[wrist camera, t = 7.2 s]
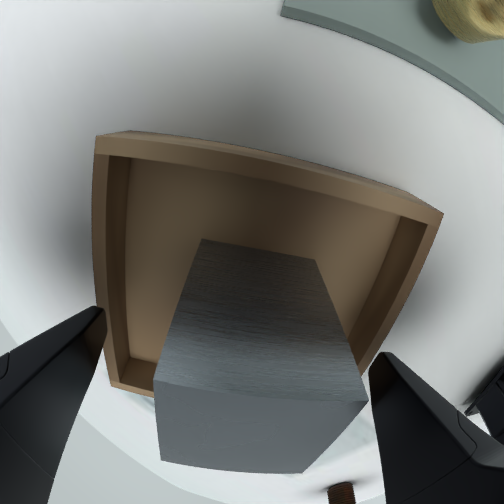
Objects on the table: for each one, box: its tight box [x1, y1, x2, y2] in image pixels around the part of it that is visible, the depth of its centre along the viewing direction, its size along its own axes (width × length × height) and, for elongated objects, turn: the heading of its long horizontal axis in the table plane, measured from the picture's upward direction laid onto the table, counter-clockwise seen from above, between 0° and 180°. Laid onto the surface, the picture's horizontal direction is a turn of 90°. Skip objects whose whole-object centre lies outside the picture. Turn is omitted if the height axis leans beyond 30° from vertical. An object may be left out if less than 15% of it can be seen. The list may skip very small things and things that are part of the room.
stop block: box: [153, 239, 369, 474], centre depth 8 cm, size 4×4×6 cm
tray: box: [92, 131, 444, 398], centre depth 10 cm, size 10×10×2 cm
